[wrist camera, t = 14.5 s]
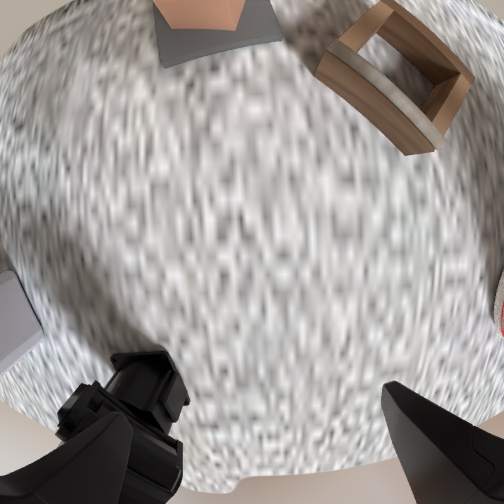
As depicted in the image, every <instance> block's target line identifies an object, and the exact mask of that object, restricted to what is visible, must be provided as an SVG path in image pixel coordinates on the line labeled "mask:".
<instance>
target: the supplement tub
mask: <svg viewBox="0 0 504 504" xmlns="http://www.w3.org/2000/svg"><path fill="white" fill-rule="evenodd" d="M494 321H495V325H496V328H497V331H498V333H499V334H500V336H501V337H502V338H504V270H503V273H502V275H501V278H500V281H499V285H498V289H497V293H496V298H495V305H494Z"/></svg>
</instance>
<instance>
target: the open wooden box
mask: <svg viewBox="0 0 504 504" xmlns="http://www.w3.org/2000/svg"><path fill="white" fill-rule="evenodd" d="M375 33H377V34H378V35H379V36H381V37H382V38H383V39H385V40H386V41H387V42H388V43H390V44H391V45H392V46H393V47H394V48H396V49H397V50H398V51H399V52H400V53H401V54H402V55H404V56H405V57H406V58H407V59H408V60H409V61H410V62H411V63H412V64H413V65H414V66H416V67H417V68H418V69H419V70H420V71H421V72H422V73H423V74H424V75H425V76H426V77H427V78H428V79H429V80H430V81H431V82H432V84H433V85H434V86H435V87H434V88H433V90H432V91H431V93H430V94H429V96H428V97H427V99H426V100H425V102H424V103H423V105H422V106H421V108H420V109H419V108H418V107H417V106H416V105H415V104H414V103H413V102H412V101H411V100H410V99H409V98H408V97H407V96H406V95H405V94H404V93H403V92H402V91H401V90H400V89H399V88H398V87H397V86H396V85H395V84H394V83H392V82H391V81H390V80H389V79H388V78H387V77H386V76H385V75H383V74H382V73H381V72H380V71H379V70H378V69H376V68H375V67H374V66H373V65H372V64H370V63H369V62H368V61H367V60H365V59H364V58H363V57H361V56H360V55H359V54H358V53H357V52H358V51H359V50H360V49H361V48H362V47H363V46H364V45H365V44H366V43H367V42H368V41H369V40H370V38H371V37H372V36H373V35H374V34H375ZM314 77H316V78H317V79H318V80H320V81H321V82H322V83H324V84H325V85H326V86H328V87H329V88H330V89H332V90H333V91H334V92H336V93H337V94H338V95H339V96H341V97H342V98H343V99H344V100H346V101H347V102H348V103H349V104H351V105H352V106H353V107H354V108H355V109H356V110H358V111H359V112H360V113H361V114H362V115H363V116H365V117H366V118H367V119H368V120H369V121H370V122H371V123H372V124H373V125H374V126H376V127H377V128H378V129H379V130H380V131H381V132H382V133H383V134H384V135H385V136H386V137H387V138H388V139H389V140H390V141H391V142H392V143H393V144H394V145H395V146H396V147H397V148H398V149H399V150H400V151H401V152H402V153H403V154H404V155H405V156H408V155H414V154H421V153H428V152H434V150H435V149H437V150H440V149H442V148H443V147H444V146H445V145H446V143H447V140H446V139H445V137H444V134H445V132H446V131H447V129H448V127H449V126H450V124H451V122H452V120H453V119H454V117H455V115H456V113H457V112H458V110H459V108H460V106H461V104H462V102H463V101H464V99H465V97H466V95H467V93H468V91H469V89H470V87H471V85H472V83H473V81H474V79H475V77H474V76H473V75H472V74H471V72H470V71H469V70H468V69H467V68H466V66H465V65H464V64H463V63H462V62H461V61H460V60H459V58H458V57H457V56H456V55H455V54H454V53H453V52H452V51H451V50H450V49H449V48H448V47H447V46H446V45H445V44H444V43H443V42H442V41H441V40H440V39H439V38H438V37H437V36H436V35H435V34H434V33H433V32H432V31H431V30H430V29H429V28H427V27H426V26H425V25H424V24H423V23H422V22H421V21H419V20H418V19H417V18H416V17H415V16H413V15H412V14H411V13H410V12H409V11H407V10H406V9H405V8H403V7H402V6H401V5H400V4H398V3H397V2H396V1H394V0H380V1H379V2H378V3H377V4H376V5H375V6H373V7H372V8H371V9H370V10H369V11H368V12H367V13H365V14H364V15H363V16H362V17H361V18H360V19H359V20H358V21H357V22H356V23H355V24H353V25H352V26H351V27H350V28H349V29H348V30H347V31H346V32H345V33H344V34H343V35H342V36H341V37H340V38H339V39H337V38H335V39H334V40H333V41H332V42H331V43H330V45H329V46H328V48H327V51H326V52H325V53H324V55H323V57H322V59H321V61H320V63H319V65H318V67H317V70H316V72H315V74H314Z"/></svg>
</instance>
